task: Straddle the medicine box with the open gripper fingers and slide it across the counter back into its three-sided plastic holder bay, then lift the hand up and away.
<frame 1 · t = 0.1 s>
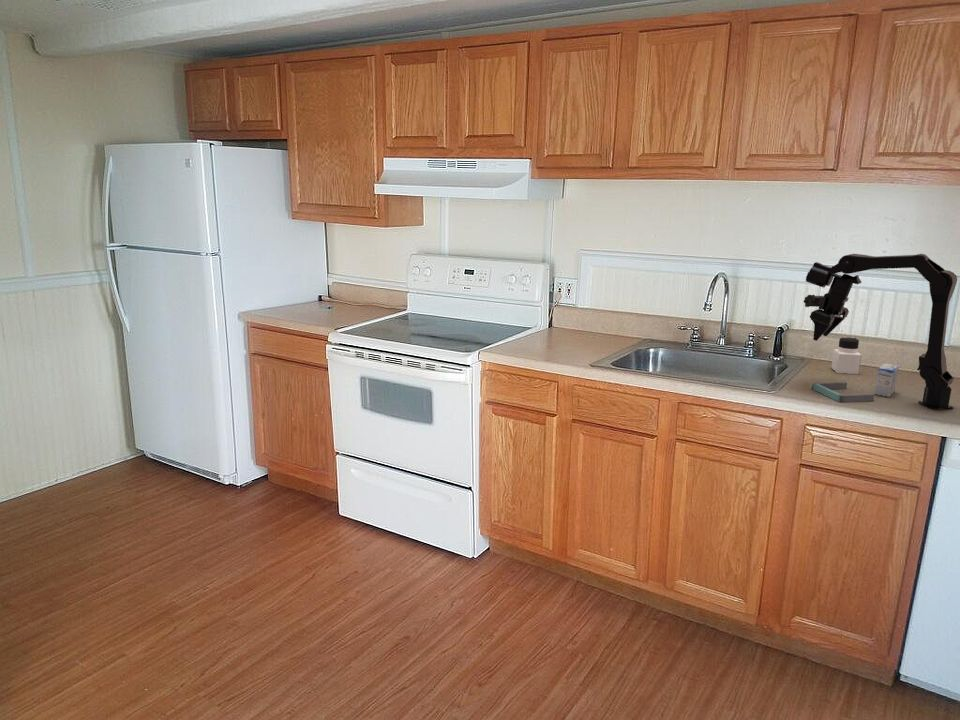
hand: (819, 338, 230), 15 cm above the worktop, tool pointing down, fingers open, 9 cm apart
medicine bottle: (844, 371, 249), on the worktop
medicine box: (884, 393, 224), on the worktop
holder bay: (843, 394, 222), on the worktop
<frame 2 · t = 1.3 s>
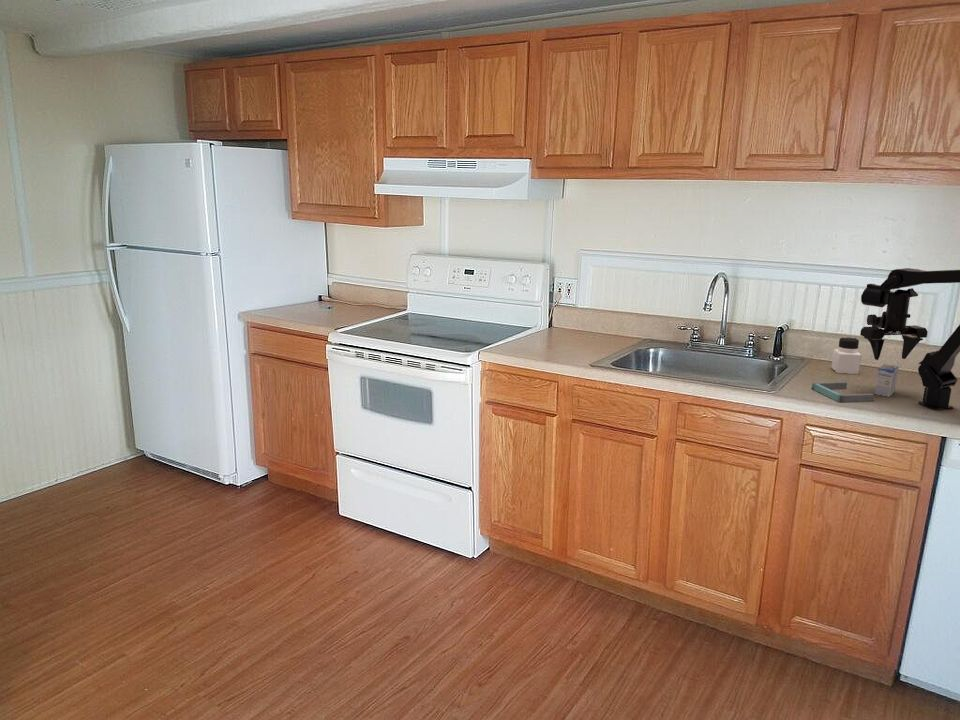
hand: (890, 359, 221), 11 cm above the worktop, tool pointing down, fingers open, 9 cm apart
nothing on the worktop moved.
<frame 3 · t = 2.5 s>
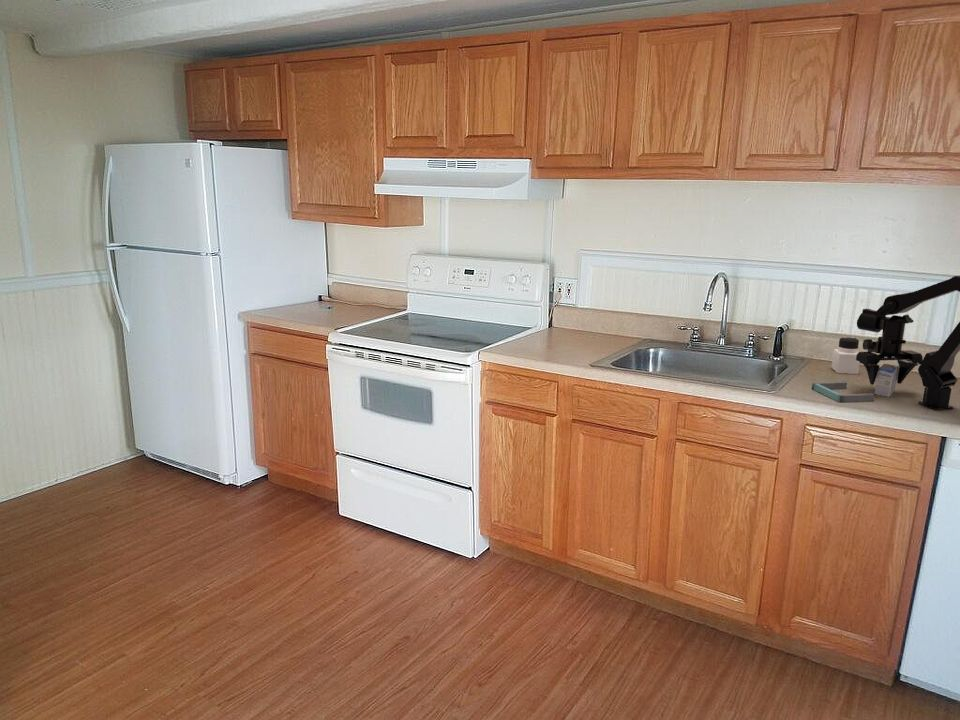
hand: (885, 383, 223), 3 cm above the worktop, tool pointing down, fingers open, 9 cm apart
medicine box: (884, 393, 224), on the worktop, touching gripper
everything else where it was.
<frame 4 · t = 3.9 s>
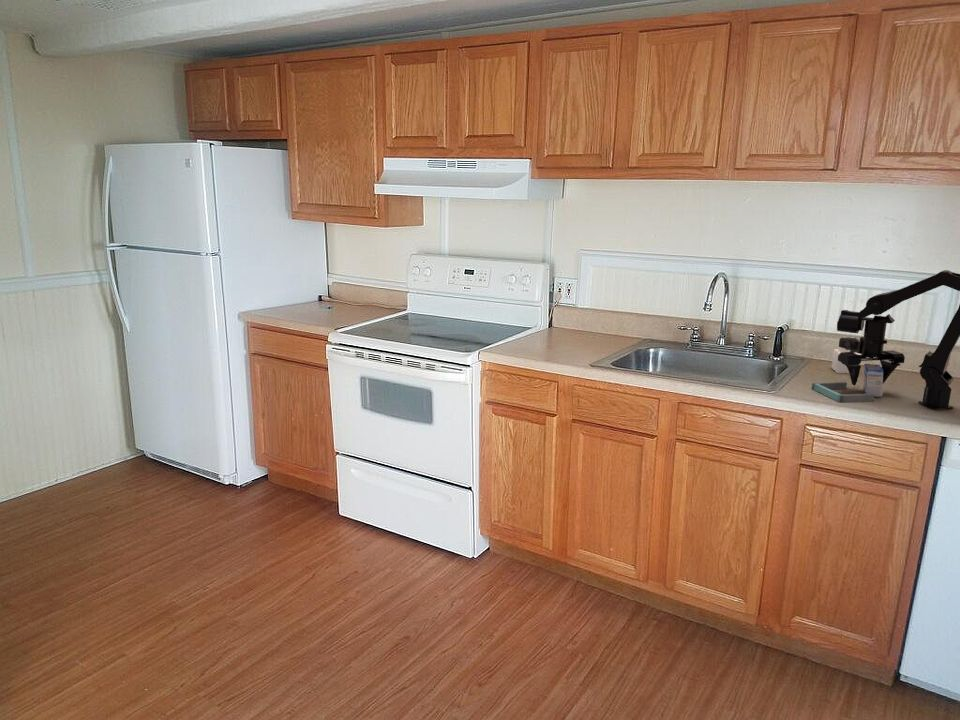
hand: (867, 384, 222), 3 cm above the worktop, tool pointing down, fingers open, 9 cm apart
medicine box: (872, 393, 223), on the worktop, touching gripper
everything else where it was.
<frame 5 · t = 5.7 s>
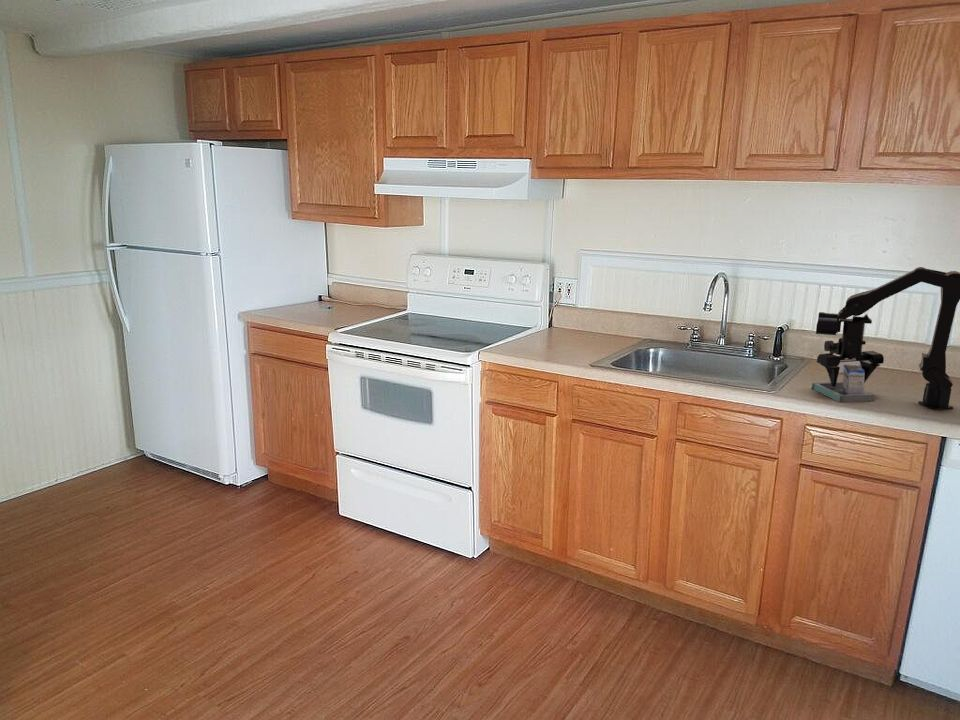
hand: (847, 385, 221), 3 cm above the worktop, tool pointing down, fingers open, 9 cm apart
medicine box: (853, 394, 222), on the worktop, touching gripper
everything else where it was.
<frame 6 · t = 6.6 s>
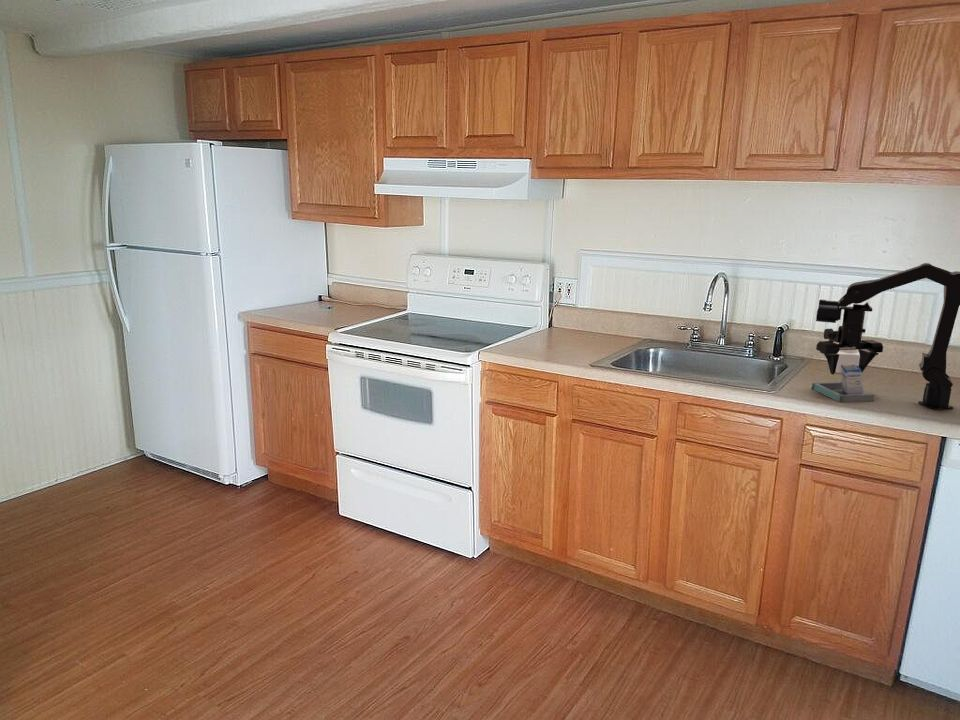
hand: (846, 373, 220), 7 cm above the worktop, tool pointing down, fingers open, 9 cm apart
nothing on the worktop moved.
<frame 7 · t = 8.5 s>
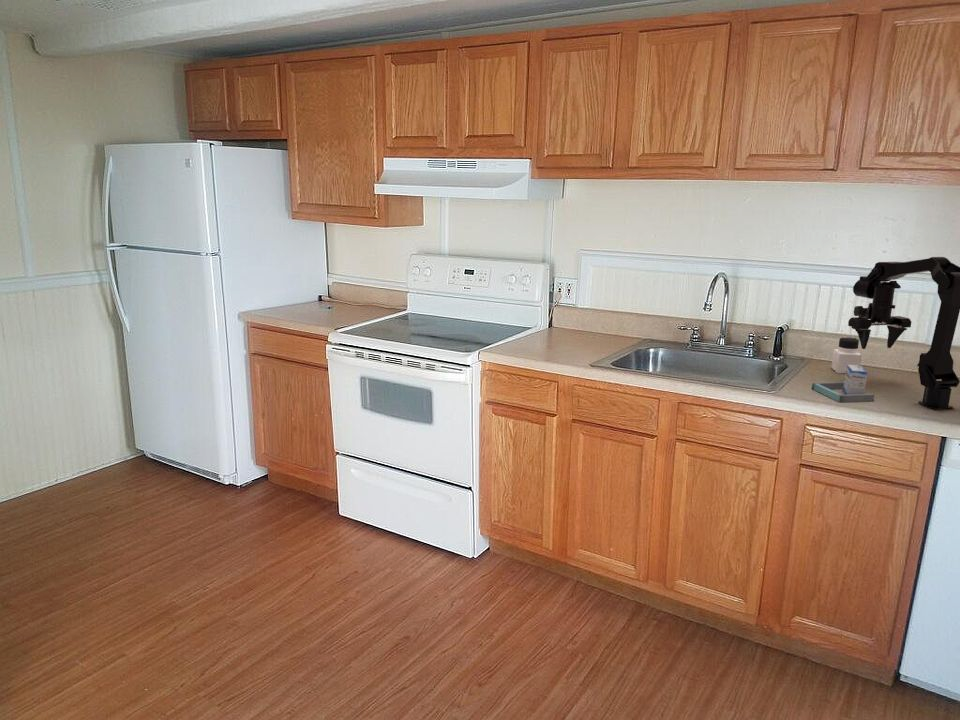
hand: (876, 348, 231), 12 cm above the worktop, tool pointing down, fingers open, 9 cm apart
medicine box: (852, 395, 222), on the worktop
everything else where it was.
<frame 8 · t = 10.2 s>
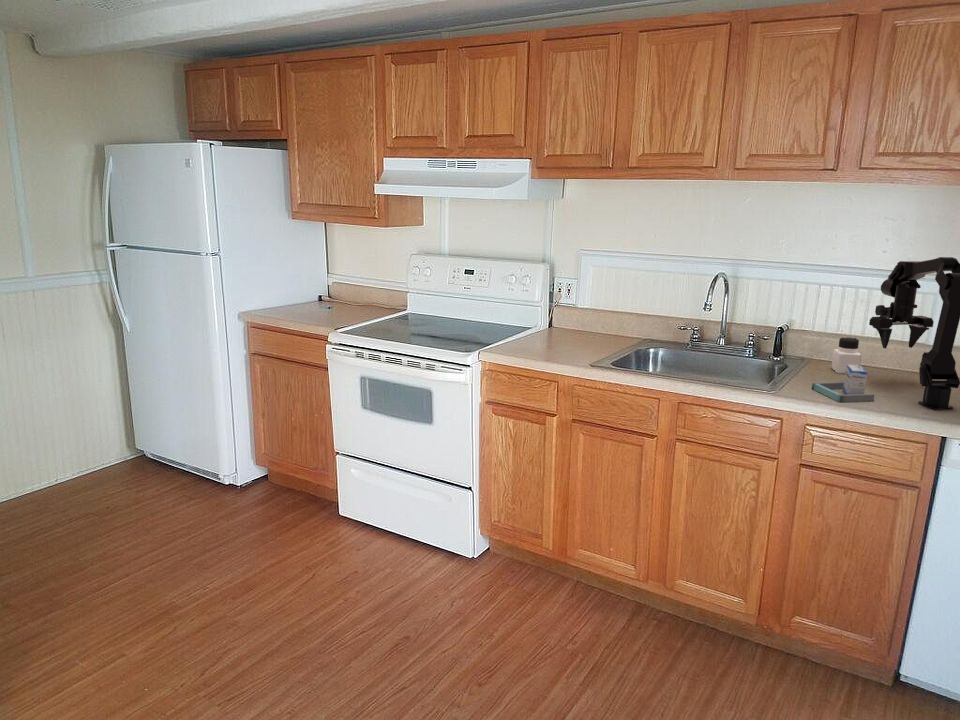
hand: (897, 347, 231), 12 cm above the worktop, tool pointing down, fingers open, 9 cm apart
nothing on the worktop moved.
at the end: medicine box inside the target area on the holder bay (3.1 cm from its centre), point 0.0 cm above the holder bay's base; medicine box tilted 0°; medicine box moved 10.9 cm from its start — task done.
